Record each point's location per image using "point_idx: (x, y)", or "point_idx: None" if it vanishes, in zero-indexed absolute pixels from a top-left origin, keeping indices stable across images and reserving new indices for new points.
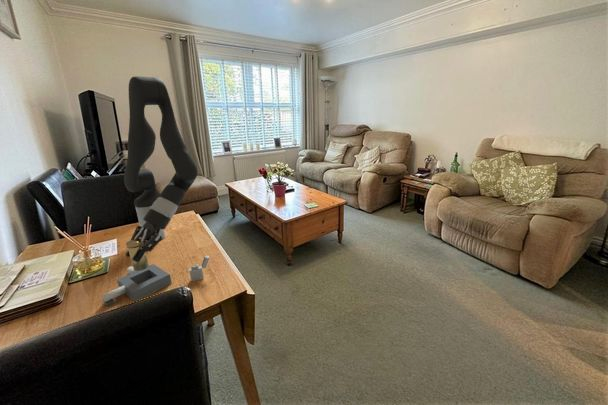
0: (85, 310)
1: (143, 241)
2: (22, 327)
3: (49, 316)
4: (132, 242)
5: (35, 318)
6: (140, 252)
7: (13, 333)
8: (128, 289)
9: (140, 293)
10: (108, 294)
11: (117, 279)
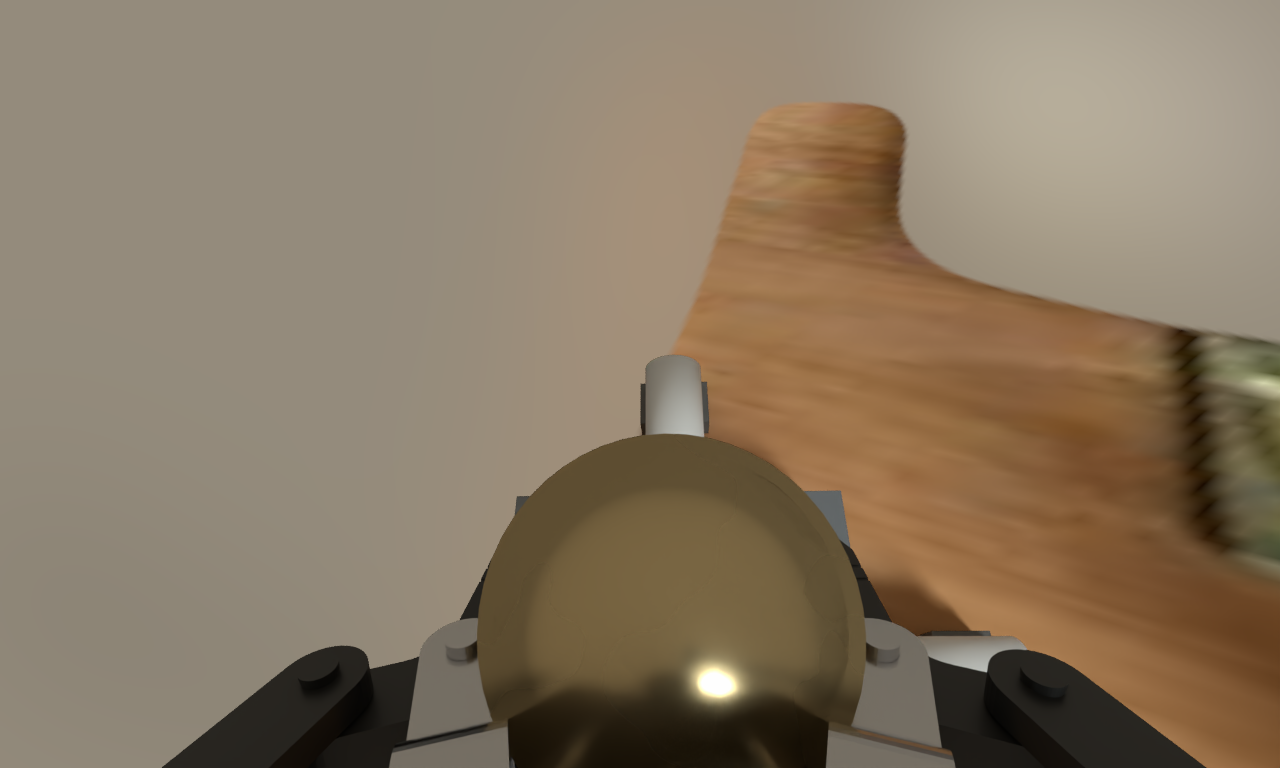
0: (720, 314)
1: (396, 752)
2: (816, 137)
3: (818, 205)
4: (683, 564)
5: (854, 170)
6: (462, 617)
7: (795, 117)
8: None
9: None
10: (656, 383)
11: (840, 495)
